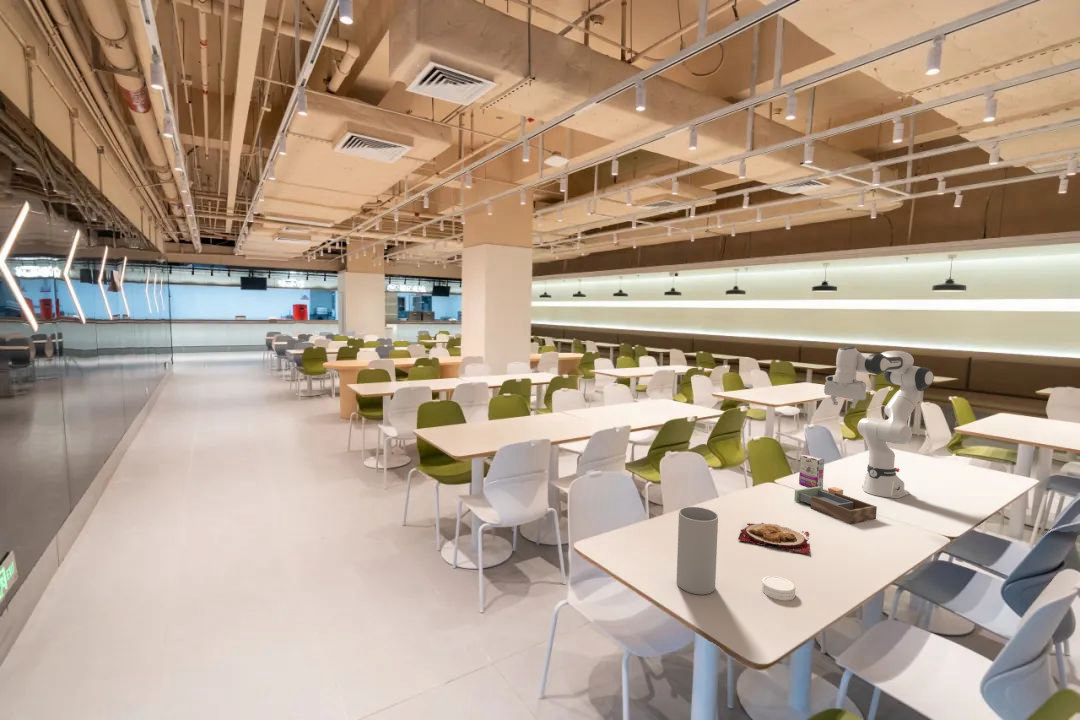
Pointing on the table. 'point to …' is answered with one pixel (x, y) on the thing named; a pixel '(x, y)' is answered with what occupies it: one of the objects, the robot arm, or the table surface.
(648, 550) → the table surface
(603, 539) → the table surface
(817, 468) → the candy bar box
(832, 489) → the terracotta block
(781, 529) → the plate with food
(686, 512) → the cylinder vase
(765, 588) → the coaster
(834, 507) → the organiser housing
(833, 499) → the grey drawer
